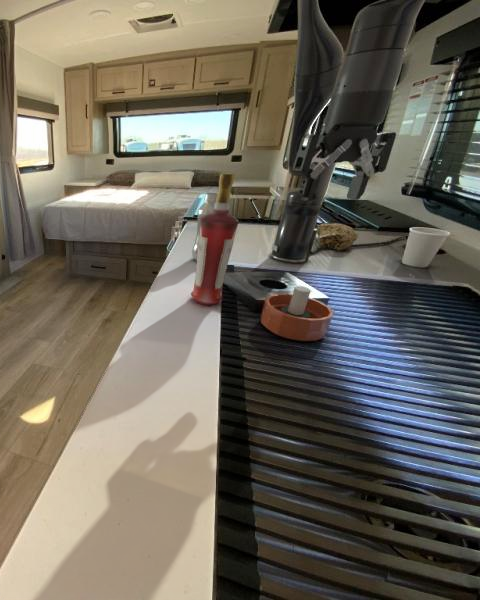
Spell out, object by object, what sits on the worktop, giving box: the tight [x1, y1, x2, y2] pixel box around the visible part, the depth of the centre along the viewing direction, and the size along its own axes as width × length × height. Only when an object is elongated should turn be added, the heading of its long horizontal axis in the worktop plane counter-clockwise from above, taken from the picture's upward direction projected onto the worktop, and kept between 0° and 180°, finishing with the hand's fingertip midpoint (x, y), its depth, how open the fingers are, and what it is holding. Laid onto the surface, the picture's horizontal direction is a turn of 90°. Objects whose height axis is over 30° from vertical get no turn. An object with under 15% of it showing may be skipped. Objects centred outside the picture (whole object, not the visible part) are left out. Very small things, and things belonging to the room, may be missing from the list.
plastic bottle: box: [191, 192, 218, 261], centre depth 98 cm, size 6×7×20 cm
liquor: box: [190, 172, 239, 306], centre depth 71 cm, size 7×7×28 cm
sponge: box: [316, 222, 359, 251], centre depth 116 cm, size 13×8×20 cm
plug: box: [280, 286, 311, 319], centre depth 64 cm, size 5×5×8 cm
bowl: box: [259, 294, 335, 342], centre depth 65 cm, size 11×11×5 cm
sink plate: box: [223, 270, 330, 313], centre depth 79 cm, size 16×16×3 cm
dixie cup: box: [401, 226, 451, 268], centre depth 96 cm, size 8×8×10 cm
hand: (329, 199), depth 58 cm, fingers open, 8 cm apart
